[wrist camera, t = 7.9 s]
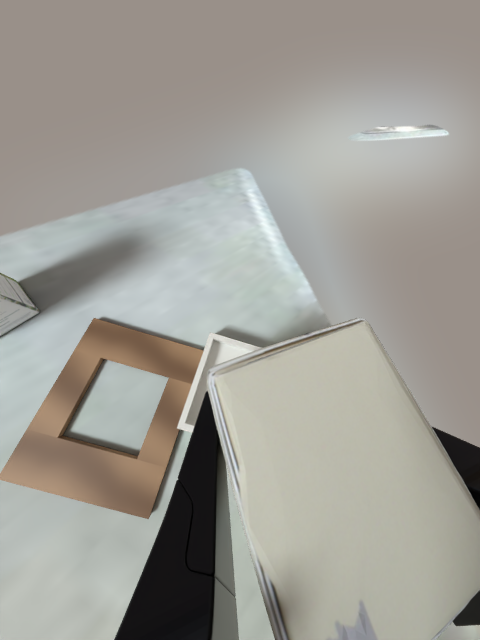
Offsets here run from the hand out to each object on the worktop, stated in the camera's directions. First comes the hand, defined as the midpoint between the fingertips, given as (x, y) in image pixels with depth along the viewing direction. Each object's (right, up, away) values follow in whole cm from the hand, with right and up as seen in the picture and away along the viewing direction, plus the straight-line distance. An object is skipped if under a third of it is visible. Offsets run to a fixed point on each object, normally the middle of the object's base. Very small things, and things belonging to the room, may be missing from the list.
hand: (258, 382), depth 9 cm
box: (-1, -4, +7) cm, 8 cm away
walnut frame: (-14, -6, +10) cm, 18 cm away
